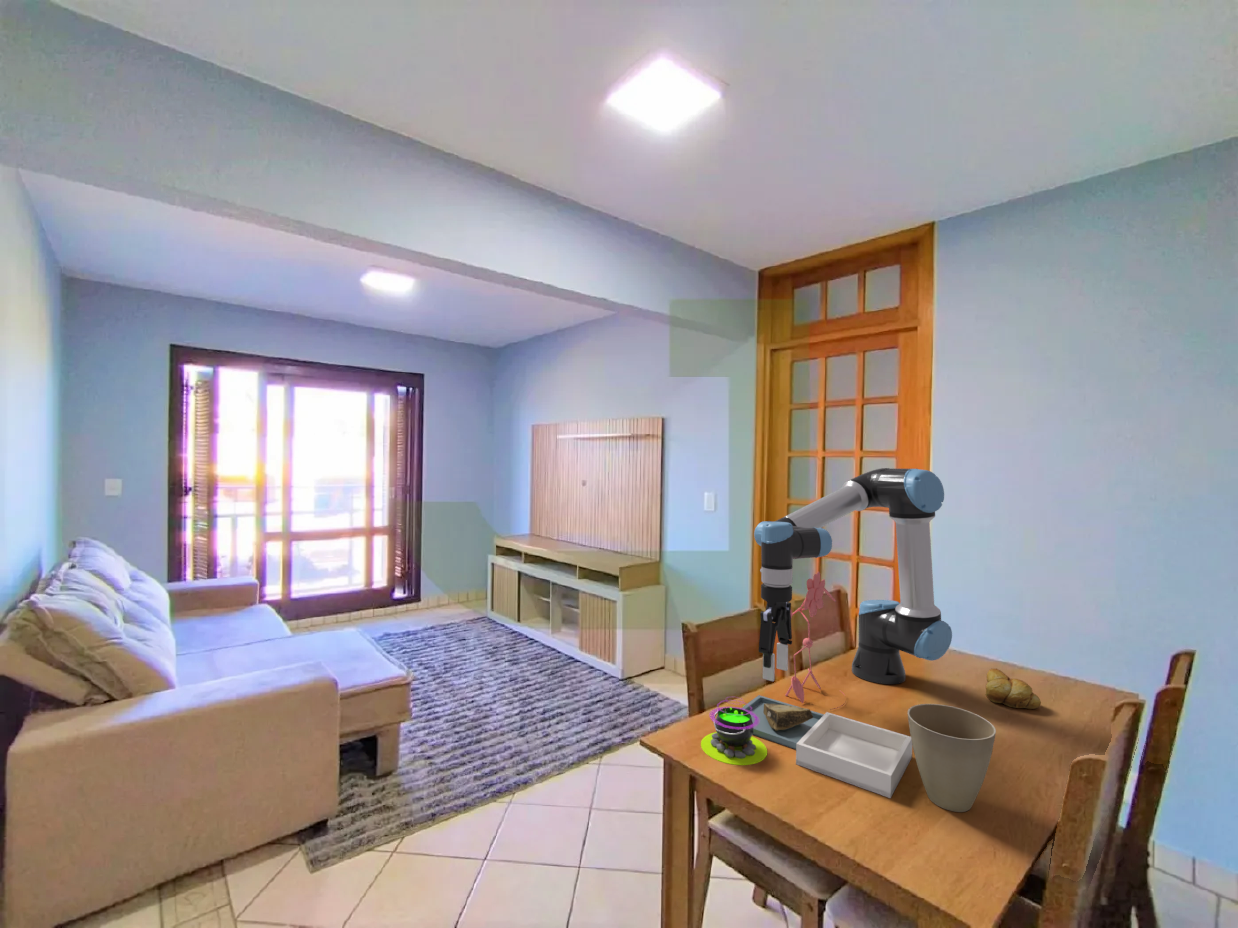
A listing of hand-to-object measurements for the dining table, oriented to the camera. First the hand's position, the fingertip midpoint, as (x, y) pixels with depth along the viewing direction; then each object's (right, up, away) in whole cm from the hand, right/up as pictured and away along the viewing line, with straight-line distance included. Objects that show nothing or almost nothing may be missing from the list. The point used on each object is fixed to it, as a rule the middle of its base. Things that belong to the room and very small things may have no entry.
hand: (775, 674), depth 141 cm
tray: (+1, -12, 0) cm, 12 cm away
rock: (0, -14, +3) cm, 14 cm away
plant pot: (+25, -13, -31) cm, 42 cm away
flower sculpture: (+16, -13, +15) cm, 25 cm away
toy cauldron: (-13, -13, -12) cm, 22 cm away
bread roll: (+69, -14, +14) cm, 72 cm away
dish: (+13, -13, -17) cm, 25 cm away
